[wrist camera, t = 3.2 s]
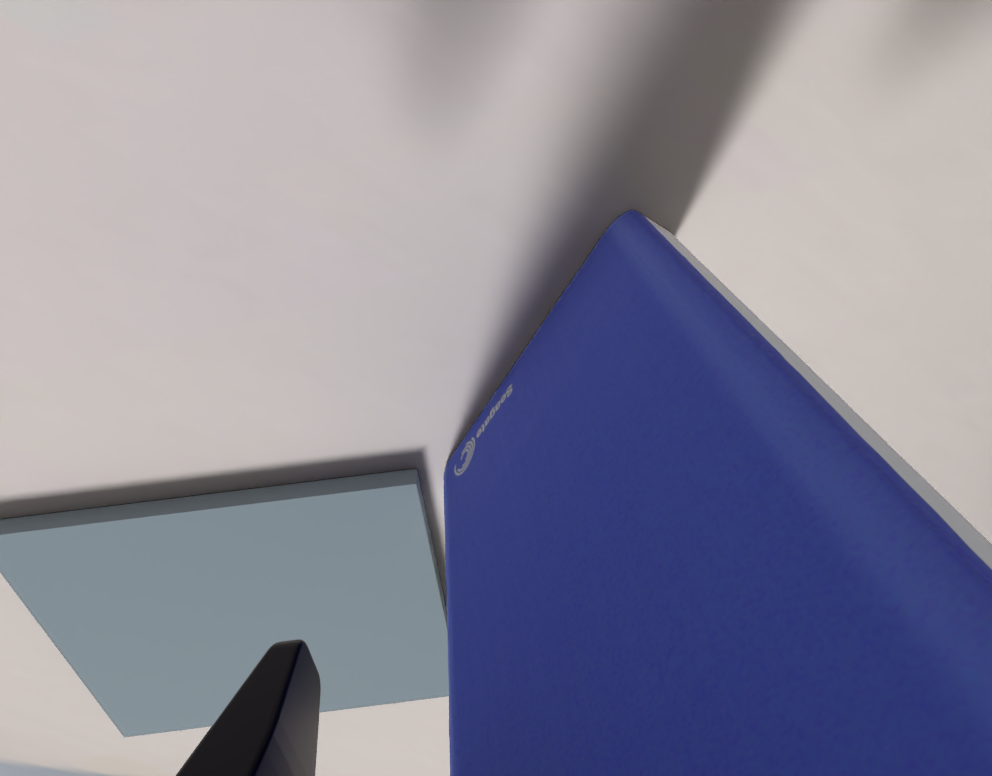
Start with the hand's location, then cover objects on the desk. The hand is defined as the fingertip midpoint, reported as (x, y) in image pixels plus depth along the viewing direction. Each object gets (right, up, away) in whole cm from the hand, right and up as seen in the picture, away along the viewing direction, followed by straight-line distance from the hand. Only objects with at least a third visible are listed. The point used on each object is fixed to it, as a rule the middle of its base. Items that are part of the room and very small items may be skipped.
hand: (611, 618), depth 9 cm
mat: (-9, -3, +10) cm, 13 cm away
